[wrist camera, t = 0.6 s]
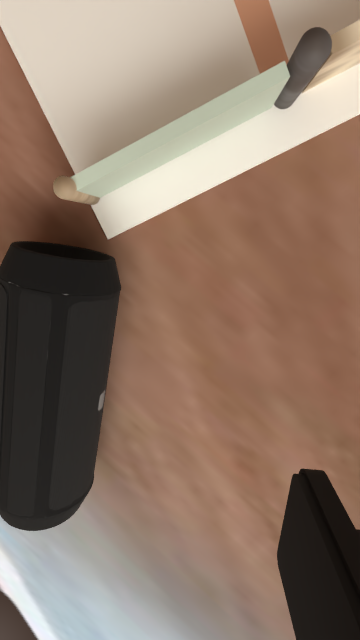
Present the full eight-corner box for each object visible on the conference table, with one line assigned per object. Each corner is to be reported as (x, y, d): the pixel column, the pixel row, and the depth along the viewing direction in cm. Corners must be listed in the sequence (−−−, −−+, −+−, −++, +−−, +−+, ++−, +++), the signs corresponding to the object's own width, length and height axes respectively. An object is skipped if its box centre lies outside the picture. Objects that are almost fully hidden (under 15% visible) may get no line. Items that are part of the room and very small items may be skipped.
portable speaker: (102, 471, 40) (71, 549, 30) (20, 454, 40) (-37, 527, 30) (135, 257, 33) (107, 269, 23) (35, 237, 33) (-33, 241, 23)
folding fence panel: (265, 91, 27) (284, 52, 21) (272, 111, 28) (293, 78, 22) (79, 191, 30) (48, 181, 24) (88, 207, 31) (60, 203, 24)
